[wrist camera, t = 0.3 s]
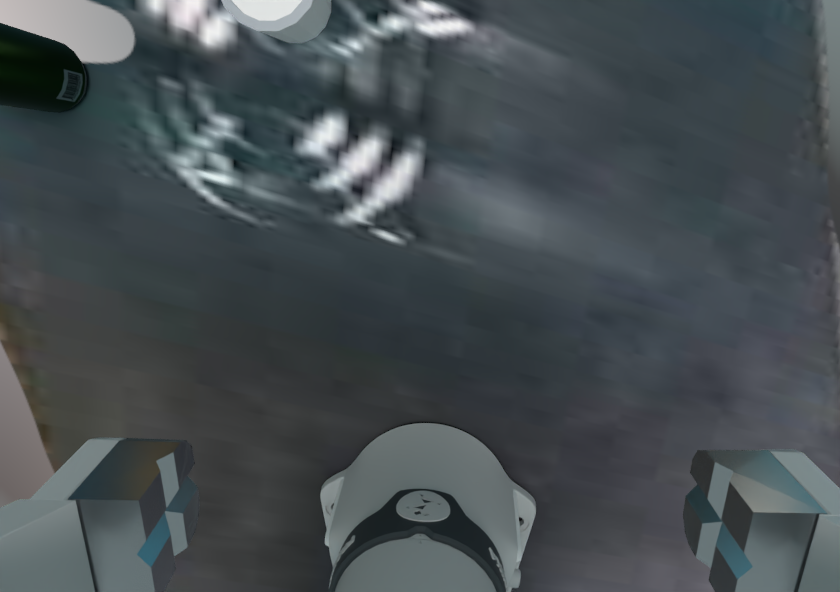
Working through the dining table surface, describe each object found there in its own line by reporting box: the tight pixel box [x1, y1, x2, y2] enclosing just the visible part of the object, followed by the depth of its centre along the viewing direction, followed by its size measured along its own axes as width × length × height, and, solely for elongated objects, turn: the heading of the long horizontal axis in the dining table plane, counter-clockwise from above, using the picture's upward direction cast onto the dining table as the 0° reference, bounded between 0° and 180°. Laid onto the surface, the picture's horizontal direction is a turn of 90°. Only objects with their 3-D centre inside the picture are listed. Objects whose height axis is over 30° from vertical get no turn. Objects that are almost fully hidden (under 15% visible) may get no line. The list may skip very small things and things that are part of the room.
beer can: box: [0, 23, 87, 112], centre depth 41 cm, size 5×5×12 cm
